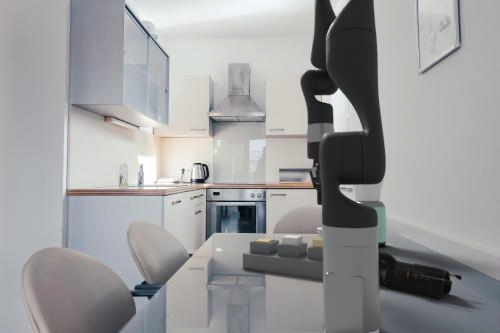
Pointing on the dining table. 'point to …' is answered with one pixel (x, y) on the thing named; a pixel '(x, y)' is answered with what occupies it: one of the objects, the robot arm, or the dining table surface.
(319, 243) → the brass metal cube
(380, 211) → the juicer
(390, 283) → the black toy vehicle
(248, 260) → the console
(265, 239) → the gold square block
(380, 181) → the robot arm
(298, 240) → the white square block
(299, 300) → the dining table surface
